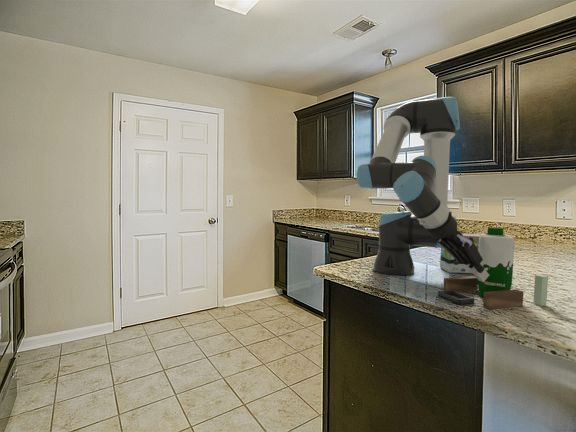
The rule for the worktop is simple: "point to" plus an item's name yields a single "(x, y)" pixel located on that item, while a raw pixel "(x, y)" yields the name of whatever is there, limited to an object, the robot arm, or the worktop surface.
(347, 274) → the worktop surface
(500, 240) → the soya milk
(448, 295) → the pit tray
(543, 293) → the gate
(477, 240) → the tea box
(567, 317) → the worktop surface
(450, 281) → the channel
